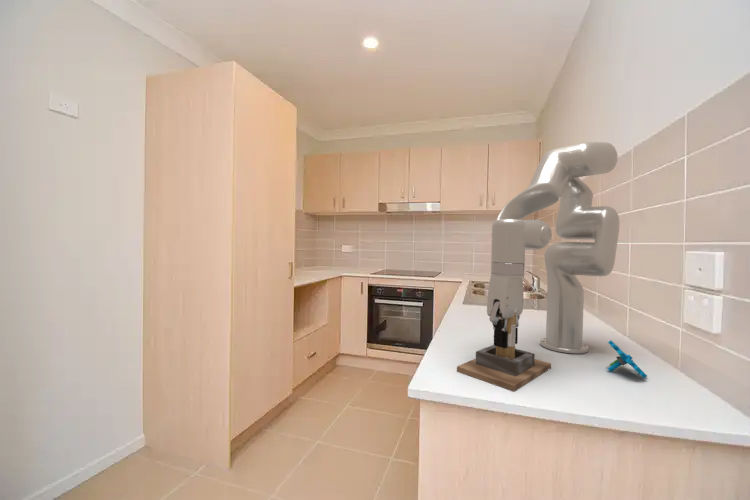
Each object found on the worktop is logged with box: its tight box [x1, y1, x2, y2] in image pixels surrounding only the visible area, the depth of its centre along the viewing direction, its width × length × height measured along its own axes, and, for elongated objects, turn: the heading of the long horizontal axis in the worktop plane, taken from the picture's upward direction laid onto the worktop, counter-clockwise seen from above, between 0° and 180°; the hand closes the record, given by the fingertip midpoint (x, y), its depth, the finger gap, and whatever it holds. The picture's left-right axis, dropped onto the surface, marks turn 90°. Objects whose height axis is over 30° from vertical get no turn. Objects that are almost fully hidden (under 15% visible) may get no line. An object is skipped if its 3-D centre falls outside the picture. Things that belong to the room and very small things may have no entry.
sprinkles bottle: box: [495, 309, 517, 360], centre depth 80 cm, size 5×5×14 cm
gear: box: [607, 340, 648, 379], centre depth 80 cm, size 11×6×10 cm
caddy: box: [456, 344, 552, 392], centre depth 80 cm, size 20×14×4 cm
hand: (505, 343), depth 80 cm, fingers closed on sprinkles bottle, 4 cm apart
